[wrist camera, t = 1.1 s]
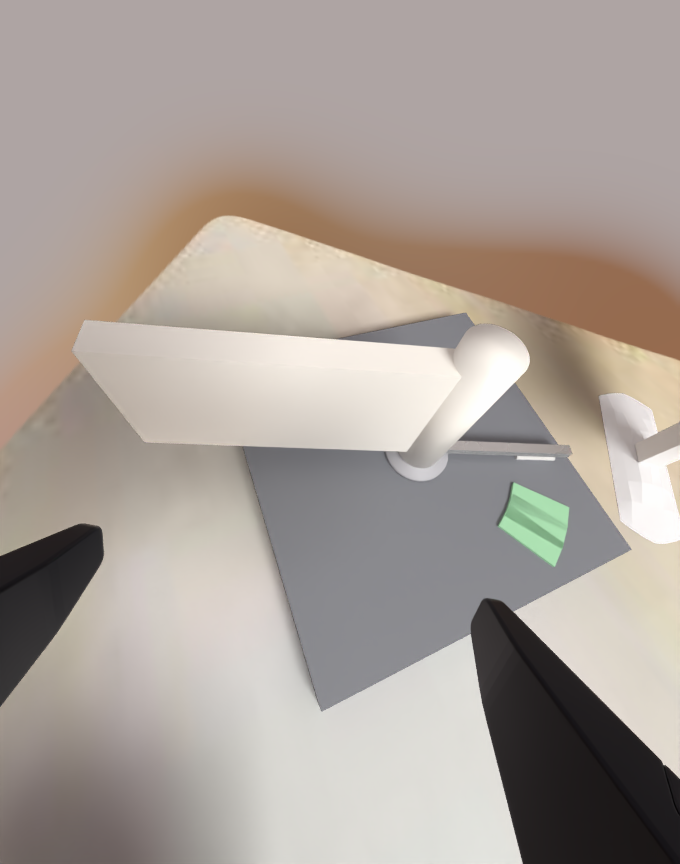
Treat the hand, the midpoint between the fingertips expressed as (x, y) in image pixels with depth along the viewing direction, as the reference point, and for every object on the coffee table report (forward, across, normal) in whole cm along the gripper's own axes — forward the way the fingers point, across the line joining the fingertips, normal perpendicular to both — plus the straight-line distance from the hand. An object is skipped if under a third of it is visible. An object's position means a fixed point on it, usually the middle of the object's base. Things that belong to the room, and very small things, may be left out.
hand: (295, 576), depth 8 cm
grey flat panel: (+17, -7, +4) cm, 19 cm away
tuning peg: (+15, -4, +3) cm, 16 cm away
